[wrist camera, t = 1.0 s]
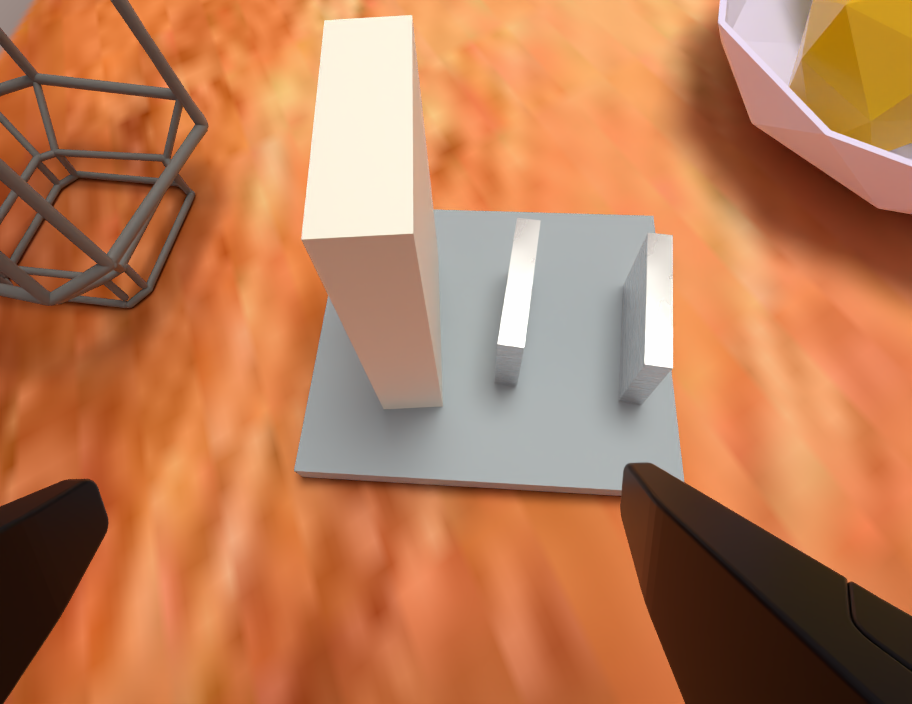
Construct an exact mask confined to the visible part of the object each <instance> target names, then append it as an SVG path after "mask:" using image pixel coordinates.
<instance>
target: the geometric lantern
mask: <svg viewBox="0 0 912 704" xmlns="http://www.w3.org/2000/svg"><path fill="white" fill-rule="evenodd" d="M111 2H112V3H113V5H114V6H115V8H116V9H117V11H118V12H119V13H120V15H121V16H122V18H123V19H124V21H125V22H126V24H127V25H128V27H129V28H130V29H131V31H132V32H133V34H134V35H135V37H136V38H137V40H138V41H139V43H140V44H141V45H142V47H143V48H144V50H145V51H146V53H147V54H148V56H149V57H150V59H151V60H152V62H153V63H154V65H155V66H156V68H157V69H158V71H159V73H160V74H161V76H162V77H163V79H164V80H165V82H166V83H167V85H168V87H169V88H162V87H153V86H144V85H135V84H127V83H118V82H109V81H100V80H92V79H83V78H74V77H65V76H57V75H48V74H39V73H37V71H36V70H35V69H34V68H33V66H32V65H31V64H30V63H29V62H28V60H27V59H26V58H25V57H24V56H23V54H22V53H21V52H20V51H19V50H18V48H17V47H16V46H15V45H14V44H13V42H12V41H11V40H10V39H9V38H8V36H7V35H6V34H5V33H4V32H3V30H2V29H1V28H0V45H1V46H2V47H3V48H4V50H5V51H6V52H7V53H8V54H9V55H10V56H11V58H12V59H13V60H14V61H15V62H16V63H17V65H18V66H19V67H20V68H21V69H22V70H23V71H24V73H25V74H26V75H25V76H22V77H18V78H15V79H12V80H9V81H6V82H3V83H0V96H2V95H5V94H8V93H12V92H15V91H18V90H21V89H24V88H27V87H31V86H33V87H34V91H35V95H36V98H37V102H38V105H39V109H40V112H41V116H42V119H43V123H44V127H45V130H46V134H47V137H48V141H49V144H50V148H51V151H48V152H45V153H42V154H40V153H39V152H38V151H37V150H36V149H35V148H34V147H33V146H32V145H31V144H30V143H29V142H28V141H27V140H26V139H25V137H24V136H23V135H22V134H21V133H20V132H19V131H18V130H17V129H16V128H15V127H14V126H13V125H12V124H11V123H10V122H9V120H8V119H7V118H6V117H5V116H4V115H3V114H2V113H1V112H0V122H1V123H2V124H3V125H4V126H5V128H6V129H7V130H8V131H9V132H10V133H11V134H12V135H13V136H14V137H15V138H16V139H17V140H18V141H19V142H20V143H21V144H22V145H23V147H24V148H25V149H26V150H27V151H28V152H29V153H30V154H31V155H32V156H33V158H32V160H31V161H30V163H29V164H28V166H27V167H26V169H25V170H24V172H23V173H22V175H21V176H19V175H18V174H17V173H16V172H15V171H13V170H12V169H11V168H10V167H9V166H8V165H7V164H6V163H5V162H4V161H3V160H1V159H0V180H1V181H2V182H3V183H4V184H5V185H7V186H8V187H9V188H10V189H11V192H10V193H9V195H8V197H7V198H6V200H5V201H4V203H3V204H2V206H1V207H0V224H1V223H2V221H3V219H4V218H5V216H6V215H7V213H8V212H9V210H10V208H11V207H12V205H13V204H14V202H15V201H16V199H17V197H18V196H19V197H20V198H21V199H23V200H24V201H25V202H26V203H27V204H28V205H29V206H31V207H32V208H33V209H34V210H35V211H36V212H37V214H36V216H35V218H34V219H33V221H32V223H31V224H30V226H29V228H28V229H27V231H26V233H25V234H24V236H23V238H22V239H21V241H20V243H19V244H18V246H17V248H16V249H15V251H14V253H13V254H12V256H11V258H10V259H9V258H8V257H7V256H6V255H5V254H3V253H2V252H1V251H0V296H4V297H9V298H13V299H18V300H23V301H28V302H32V303H37V304H42V305H48V306H50V305H51V306H52V305H56V304H62V303H64V302H67V301H69V302H77V303H86V304H95V305H103V306H112V307H121V308H127V307H128V308H132V307H134V306H135V305H136V304H137V303H138V302H140V301H141V300H142V299H143V298H145V297H146V296H147V295H148V294H149V293H151V292H152V291H153V287H154V285H155V283H156V281H157V278H158V276H159V274H160V272H161V270H162V267H163V265H164V263H165V261H166V259H167V256H168V254H169V252H170V250H171V248H172V245H173V243H174V241H175V239H176V237H177V234H178V232H179V230H180V228H181V226H182V223H183V221H184V219H185V217H186V214H187V212H188V210H189V208H190V206H191V203H192V201H193V199H194V196H195V192H194V191H192V190H191V189H190V188H189V187H188V186H187V184H186V183H185V182H184V180H183V179H182V178H181V176H180V175H179V174H178V173H179V171H180V170H181V168H182V167H183V165H184V164H185V162H186V161H187V159H188V158H189V156H190V155H191V153H192V152H193V150H194V149H195V147H196V146H197V144H198V143H199V141H200V140H201V139H202V137H203V136H204V135H205V133H206V132H207V129H208V123H207V120H206V118H205V117H204V115H203V114H202V112H201V111H200V110H199V108H198V107H197V106H196V104H195V103H194V102H193V100H192V99H191V97H190V96H189V94H188V93H187V91H186V90H185V88H184V86H183V85H182V83H181V82H180V80H179V79H178V77H177V76H176V74H175V73H174V71H173V70H172V68H171V67H170V65H169V64H168V62H167V61H166V59H165V58H164V56H163V55H162V53H161V52H160V50H159V48H158V47H157V45H156V44H155V42H154V41H153V39H152V38H151V36H150V35H149V33H148V32H147V30H146V29H145V27H144V26H143V24H142V22H141V21H140V19H139V17H138V16H137V14H136V13H135V11H134V9H133V8H132V6H131V4H130V3H129V1H128V0H111ZM41 84H42V85H50V86H59V87H67V88H75V89H84V90H92V91H101V92H109V93H118V94H126V95H135V96H143V97H152V98H160V99H169V100H176V102H175V106H174V110H173V115H172V119H171V124H170V128H169V132H168V137H167V141H166V145H165V150H164V154H163V155H161V154H142V153H123V152H104V151H84V150H65V149H59V148H58V144H57V141H56V137H55V133H54V130H53V126H52V123H51V119H50V115H49V112H48V108H47V105H46V101H45V97H44V94H43V90H42V87H41ZM183 107H184V108H185V110H186V111H187V113H188V114H189V116H190V117H191V119H192V120H193V122H194V123H195V126H194V127H193V129H192V130H191V132H190V133H189V134H188V136H187V137H186V139H185V140H184V142H183V143H182V145H181V146H180V148H179V149H178V151H177V152H176V154H175V155H174V156H173V158H172V159H171V154H172V150H173V146H174V142H175V137H176V133H177V129H178V125H179V120H180V116H181V112H182V108H183ZM64 156H67V157H85V158H104V159H123V160H141V161H160V162H162V163H163V164H164V166H165V170H164V171H163V173H162V174H161V175H160V177H159V178H151V177H140V176H129V175H118V174H106V173H95V172H84V171H76V170H75V169H74V167H73V166H72V165H71V164H70V163H69V161H68V160H67V159H66V158H65V157H64ZM54 157H56V158H57V159H58V160H59V161H60V162H61V163H62V165H63V166H64V167H65V168H66V169H67V170H68V172H69V173H70V175H69V176H67V177H65V178H64V179H62V180H60V181H59V180H58V179H57V178H56V176H55V175H54V174H53V173H52V172H51V171H50V170H49V169H48V168H47V167H46V166H45V165H44V164H43V163H42V161H45V160H48V159H51V158H54ZM37 167H38V169H39V170H40V171H41V172H42V173H43V174H44V175H45V176H46V177H47V178H48V179H49V180H50V181H51V182H52V183H53V184H54V186H53V188H52V189H51V191H50V193H49V194H48V196H47V198H46V199H44V198H43V197H42V196H41V195H40V194H39V193H38V192H36V191H35V190H34V189H33V188H32V187H31V186H30V185H29V184H28V183H27V182H28V180H29V179H30V177H31V176H32V174H33V172H34V171H35V169H36V168H37ZM78 178H90V179H101V180H112V181H123V182H135V183H146V184H154V186H153V187H152V189H151V190H150V192H149V193H148V195H147V196H146V197H145V199H144V200H143V202H142V203H141V205H140V206H139V208H138V209H137V211H136V212H135V214H134V215H133V216H132V218H131V219H130V221H129V222H128V224H127V225H126V227H125V228H124V230H123V231H122V233H121V234H120V236H119V237H118V238H117V240H116V241H115V243H114V244H113V246H112V247H111V249H110V250H109V252H108V253H107V254H106V253H105V252H103V251H102V250H101V249H100V248H99V247H98V246H97V245H95V244H94V243H93V242H92V241H91V240H90V239H89V238H88V237H86V236H85V235H84V234H83V233H82V232H81V231H80V230H79V229H77V228H76V227H75V226H74V225H73V224H72V223H71V222H70V221H68V220H67V219H66V218H65V217H64V216H63V215H62V214H61V213H59V212H58V211H57V210H56V209H55V208H54V207H53V206H52V204H53V202H54V200H55V198H56V197H57V195H58V193H59V192H60V190H61V189H62V188H63V187H65V186H67V185H68V184H70V183H72V182H73V181H75V180H76V179H78ZM169 186H178V187H180V188H181V189H182V190H183V191H184V192H185V193H186V194H187V197H186V199H185V201H184V203H183V205H182V207H181V210H180V212H179V214H178V216H177V218H176V220H175V223H174V225H173V227H172V229H171V231H170V233H169V236H168V238H167V240H166V242H165V244H164V246H163V249H162V251H161V253H160V255H159V257H158V259H157V262H156V264H155V266H154V268H153V270H152V272H151V275H150V277H149V279H148V281H147V283H146V282H145V281H144V280H143V279H142V278H141V277H140V276H139V275H138V274H137V273H136V272H135V271H134V270H133V269H132V268H131V267H130V266H129V265H128V262H129V260H130V258H131V256H132V254H133V252H134V250H135V249H136V247H137V245H138V243H139V241H140V239H141V237H142V235H143V233H144V232H145V230H146V228H147V226H148V224H149V222H150V220H151V218H152V216H153V215H154V213H155V211H156V209H157V207H158V205H159V203H160V201H161V199H162V198H163V196H164V194H165V192H166V191H167V189H168V188H169ZM43 219H46V220H47V221H48V222H49V223H50V224H51V225H53V226H54V227H55V228H56V229H57V230H58V231H60V232H61V233H62V234H63V235H64V236H65V237H67V238H68V239H69V240H70V241H71V242H73V243H74V244H75V245H76V246H77V247H78V248H80V249H81V250H82V251H83V252H84V253H86V254H87V255H88V256H89V257H90V258H91V259H93V260H94V261H95V262H96V263H97V264H96V265H94V266H93V267H91V268H90V269H88V270H86V271H85V272H83V273H82V272H72V271H63V270H53V269H43V268H34V267H24V266H18V265H17V263H18V261H19V259H20V258H21V256H22V254H23V253H24V251H25V249H26V248H27V246H28V244H29V243H30V241H31V239H32V237H33V236H34V234H35V232H36V231H37V229H38V227H39V226H40V224H41V222H42V220H43ZM123 272H125V273H126V274H127V275H128V276H129V277H130V278H131V279H132V280H133V281H134V282H135V283H136V284H137V285H138V286H139V287H140V288H142V290H141V291H140V292H138V293H137V294H136V295H135V296H134V297H132V298H131V299H130V300H129V301H126V300H128V298H129V296H128V295H127V294H126V293H125V292H124V291H122V290H121V289H120V288H119V287H118V286H117V285H116V284H114V283H113V282H112V281H111V280H112V279H113V278H115V277H117V276H118V275H120V274H121V273H123ZM28 274H29V275H28ZM30 275H38V276H48V277H58V278H67V279H72V280H70V281H68V282H67V283H65V284H64V285H62V286H60V287H59V288H57V289H55V290H53V291H52V292H49V291H48V290H46V289H45V288H44V287H43V286H42V285H40V284H39V283H38V282H37V281H36V280H34V279H33V278H32V277H31V276H30ZM8 278H11V279H12V280H13V281H14V282H16V283H17V284H18V285H19V286H20V287H17V286H14V285H13V284H12V283H11V282H10V280H9V279H8ZM103 284H104V285H105V286H106V287H107V288H108V289H110V290H111V291H112V292H113V293H114V294H115V295H117V296H118V297H119V298H120V299H121V300H114V299H105V298H96V297H87V296H79V295H81V294H84V293H86V292H88V291H90V290H92V289H94V288H96V287H99V286H101V285H103ZM122 300H123V301H122Z"/></svg>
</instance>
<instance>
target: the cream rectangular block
mask: <svg viewBox="0 0 912 704" xmlns="http://www.w3.org/2000/svg"><path fill="white" fill-rule="evenodd" d="M301 240H302V242H303V244H304V246H305V248H306V250H307V252H308V254H309V256H310V258H311V260H312V262H313V265H314V267H315V269H316V271H317V273H318V275H319V277H320V279H321V281H322V283H323V285H324V287H325V289H326V291H327V293H328V296H329V298H330V300H331V302H332V304H333V306H334V308H335V310H336V312H337V314H338V316H339V318H340V320H341V322H342V324H343V327H344V329H345V331H346V333H347V335H348V337H349V339H350V341H351V343H352V345H353V347H354V349H355V351H356V353H357V355H358V358H359V360H360V362H361V364H362V366H363V368H364V370H365V372H366V374H367V376H368V378H369V380H370V382H371V384H372V386H373V389H374V391H375V393H376V395H377V397H378V399H379V401H380V403H381V405H382V407H383V409H402V408H422V407H443V391H442V358H441V325H440V292H439V258H438V247H437V238H436V229H435V220H434V211H433V201H432V192H431V183H430V174H429V165H428V156H427V147H426V137H425V128H424V119H423V110H422V101H421V92H420V83H419V74H418V64H417V55H416V46H415V37H414V28H413V19H412V15H407V16H390V17H373V18H356V19H340V20H325V22H324V31H323V41H322V50H321V59H320V69H319V78H318V88H317V97H316V107H315V116H314V125H313V135H312V144H311V154H310V163H309V173H308V182H307V191H306V201H305V210H304V220H303V229H302V239H301Z"/></svg>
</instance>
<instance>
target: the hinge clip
mask: <svg viewBox="0 0 912 704" xmlns="http://www.w3.org/2000/svg"><path fill="white" fill-rule="evenodd" d="M540 222H541V220H532V219H523V218H517V221H516V228H515V234H514V241H513V247H512V254H511V260H510V267H509V273H508V280H507V286H506V293H505V299H504V306H503V312H502V318H501V325H500V331H499V338H498V345H497V357H496V369H495V381H494V384H500V385H507V386H514V387H517V383H518V378H519V372H520V367H521V362H522V357H523V351H524V345H525V338H526V330H527V322H528V315H529V307H530V299H531V291H532V284H533V276H534V268H535V261H536V253H537V245H538V238H539V230H540ZM672 369H673V235H665V234H656V233H647V235H646V237H645V240H644V242H643V244H642V246H641V248H640V250H639V252H638V255H637V257H636V259H635V261H634V263H633V265H632V267H631V270H630V272H629V274H628V276H627V278H626V280H625V283H624V285H623V303H622V325H621V347H620V369H619V392H618V402H624V403H631V404H637V405H642V404H643V403H644V402H645V401H646V399H647V398H648V397H649V396H650V395H651V393H652V392H653V391H654V390H655V389H656V388H657V386H658V385H659V384H660V383H661V382H662V380H663V379H664V378H665V377H666V376H667V374H668V373H669V372H670V371H671V370H672Z"/></svg>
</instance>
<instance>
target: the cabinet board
mask: <svg viewBox="0 0 912 704" xmlns="http://www.w3.org/2000/svg"><path fill="white" fill-rule="evenodd" d="M433 211H434V220H435V229H436V238H437V247H438V258H439V292H440V325H441V358H442V391H443V407H422V408H402V409H383V407H382V405H381V403H380V401H379V399H378V397H377V395H376V393H375V391H374V389H373V386H372V384H371V382H370V380H369V378H368V376H367V374H366V372H365V370H364V368H363V366H362V364H361V362H360V360H359V358H358V355H357V353H356V351H355V349H354V347H353V345H352V343H351V341H350V339H349V337H348V335H347V333H346V331H345V329H344V327H343V324H342V322H341V320H340V318H339V316H338V314H337V312H336V310H335V308H334V306H333V304H332V302H331V300H330V298H329V296H328V300H327V305H326V310H325V315H324V320H323V325H322V330H321V336H320V341H319V346H318V351H317V356H316V361H315V366H314V371H313V376H312V382H311V387H310V392H309V397H308V402H307V407H306V412H305V417H304V422H303V427H302V433H301V438H300V443H299V448H298V453H297V458H296V463H295V468H294V471H295V472H296V473H298V474H299V475H301V476H302V477H312V478H329V479H346V480H362V481H379V482H396V483H413V484H429V485H446V486H463V487H479V488H496V489H513V490H530V491H546V492H563V493H580V494H597V495H613V496H621V491H622V479H623V470H624V467H625V465H626V464H627V463H640V462H649V463H652V464H654V465H656V466H658V467H659V468H661V469H663V470H664V471H666V472H668V473H669V474H671V475H673V476H674V477H676V478H678V479H679V480H681V481H683V482H684V475H683V466H682V458H681V449H680V441H679V432H678V424H677V415H676V407H675V398H674V389H673V381H672V372H671V371H670V372H669V373H668V374H667V376H666V377H665V378H664V379H663V380H662V382H661V383H660V384H659V385H658V386H657V388H656V389H655V390H654V391H653V392H652V393H651V395H650V396H649V397H648V398H647V399H646V401H645V402H644V403H643V404H642V405H637V404H631V403H624V402H618V392H619V369H620V347H621V325H622V303H623V285H624V283H625V280H626V278H627V276H628V274H629V272H630V270H631V267H632V265H633V263H634V261H635V259H636V257H637V255H638V252H639V250H640V248H641V246H642V244H643V242H644V240H645V237H646V235H647V233H655V227H654V218H653V216H638V215H603V214H568V213H533V212H498V211H463V210H433ZM517 218H523V219H532V220H541V222H540V230H539V238H538V245H537V253H536V261H535V268H534V276H533V284H532V291H531V299H530V307H529V315H528V322H527V330H526V338H525V345H524V351H523V357H522V362H521V367H520V372H519V378H518V383H517V387H514V386H507V385H500V384H494V381H495V369H496V357H497V345H498V338H499V331H500V325H501V318H502V312H503V306H504V299H505V293H506V286H507V280H508V273H509V267H510V260H511V254H512V247H513V241H514V234H515V228H516V221H517Z"/></svg>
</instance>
